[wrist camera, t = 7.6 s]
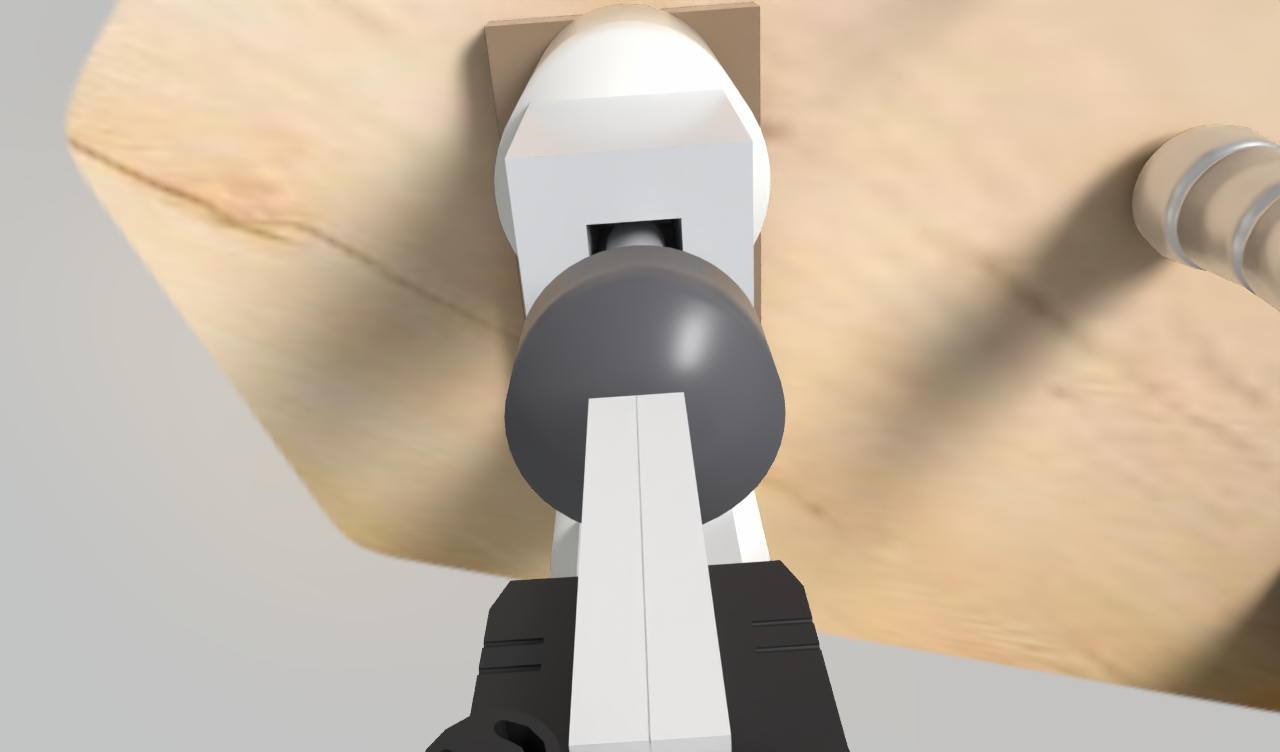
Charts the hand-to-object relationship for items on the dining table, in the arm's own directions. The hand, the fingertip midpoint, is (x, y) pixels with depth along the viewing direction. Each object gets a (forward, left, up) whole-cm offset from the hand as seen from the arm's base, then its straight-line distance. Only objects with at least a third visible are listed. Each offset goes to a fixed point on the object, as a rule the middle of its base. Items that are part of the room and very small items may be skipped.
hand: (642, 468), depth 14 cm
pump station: (-8, +2, -32) cm, 33 cm away
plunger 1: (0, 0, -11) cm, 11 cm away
